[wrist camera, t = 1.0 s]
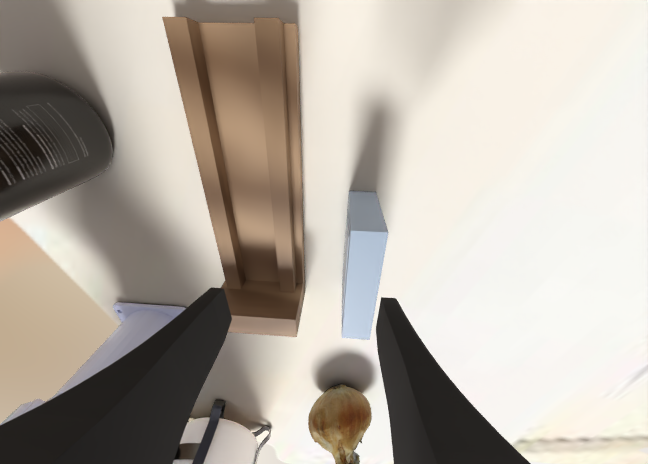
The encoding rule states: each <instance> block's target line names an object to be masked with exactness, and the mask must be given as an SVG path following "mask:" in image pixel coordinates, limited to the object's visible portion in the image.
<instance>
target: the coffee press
mask: <svg viewBox="0 0 648 464" xmlns="http://www.w3.org/2000/svg"><path fill="white" fill-rule="evenodd" d="M225 403H226V402H225V401H220V400H215V402H214V404H213V407H212V411H211V415H210V417H205V418H198V419H195V420H192V421H190V422H189V421H188V423H187V425H186V427H185V430H184V433H183V436H182V438H181V441H180V444H179V447H178V450H177V452H176V455H175V458H174V461H173V464H256V463H257V459H258V455H259V452H260V450H261V448H262V446H263V445H264V444H265V443H266V442H267V441H268V440H269V438H270V436H271V429H270V427H269V426H264V427H262V428H261V429H260V430H258V431H257V432H251V431H250V430H249V429H247V428H246V427H244V426H242V425H240V424H238V423H236V422H233V421H230V420H226V419H224V417H223V416H224V409H225ZM265 430H268V431H269V434H268V436H267V437H266V438H265V439H264V440H263V441H262V443H261V444H260V446H259V448H258V444H257V440H256V436H258V435H260V434H261V433H262V432H263V431H265ZM257 449H258V451H257ZM256 454H257V455H256Z"/></svg>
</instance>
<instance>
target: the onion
mask: <svg viewBox="0 0 648 464" xmlns="http://www.w3.org/2000/svg"><path fill="white" fill-rule="evenodd" d="M370 422H371V408H370V404H369V402H368V400H367V399H366V397H365V396H364V395H363V394H362V393H361V392H359V391H357V390H355V389H353V388H350V387H346V385H342V384H340V385H337V386H334V387H331V388H330V389H328V390H327V391H326V392H325V393H323V394H322V395H321V396H320V397H319V398H318V400H317V401H316V402H315V403H314V405H313V407H312V409H311V411H310V413H309V422H308V425H309V430H310V433H311V436H312V438H313V439H314V441H315V442H318V443H319V444H320V445H321V446H322V447H323V448H324V449H326V450H327V451H329V452H331V453H332V455H333V457H334V459H335V463H336V464H359V462H360V461H359V455H358V454H357V453H355V452H354V450H355V449H356V448H357V445H358V443H359V442H361V443H362V441H361V440H362V437H363V435H364V433H365V432H366V430H367V428H368V427H369V426H370Z"/></svg>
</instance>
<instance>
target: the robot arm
mask: <svg viewBox="0 0 648 464" xmlns="http://www.w3.org/2000/svg"><path fill="white" fill-rule="evenodd" d="M113 308H114V310H115V311H116V313H117V315H118V317H119V318H120V320H121V322H122V324H121V325H120V326H119V327H118V328H117V329H116V330H115V331H114V332H113V333H112V334H111V335H110V337H109V338H108V339H107V340H106V341H105V342H104V343H103V344H102V345H101V346H100V347H99V348H98V349H97V350H96V351H95V353H94V354H93V355H92V356H91V357H90V358H89V359H88V360H87V361H86V362H85V363H84V364H83V365H82V366H81V367H80V369H79V370H78V371H77V372H76V373H75V374H74V375H73V376H72V377H71V378H70V379H69V380H68V381H67V382H66V384H65V385H64V386H63V387H62V388H61V389H60V390H59V391H58V392H57V393H56V394H55V395H54V396H53V397H52V398H50V399H49V400H48V401H46V402H45V401H43V400H41V399H36V400H34V401H33V402H28V403H25V404H22V405H20V406H19V407H18V408H17V409H16V410H15V411H14V412H13V413H12V414H11V415H9V416H8V417H7V418H6V419H5V420H4V421H3V422H2V423H1V424H0V464H173V461H174V458H175V455H176V452H177V450H178V447H179V444H180V441H181V438H182V436H183V433H184V430H185V427H186V425H187V422H188V420H189V417H190V414H191V412H192V409H193V407H194V404H195V401H196V399H197V397H198V395H199V392H200V390H201V388H202V386H203V384H204V382H205V380H206V378H207V376H208V374H209V372H210V370H211V368H212V366H213V364H214V362H215V360H216V358H217V355H218V353H219V351H220V349H221V347H222V345H223V343H224V341H225V338H226V335H227V333H228V330H229V327H230V324H231V321H232V317H231V313H230V309H229V305H228V302H227V298H226V294H225V290H224V288H210V289H209V290H208V291H207V292H205V293H204V294H203V295H202V296H201V297H199V298H198V299H197V300H196V301H195V302H194V303H192V304H191V305H190V306H189V307H188V308H185V307H177V306H163V305H148V304H134V303H120V302H118V303H115V304H114V305H113ZM376 334H377V347H378V355H379V360H380V366H381V372H382V377H383V382H384V388H385V393H386V399H387V404H388V410H389V417H390V426H391V436H392V446H393V457H394V464H530V463H529V462H528V461H527V460H526V459H525V458H524V457H523V456H522V455H521V454H520V453H519V452H518V451H517V450H516V449H515V448H514V447H513V446H512V445H511V444H510V443H508V442H507V441H506V440H505V439H504V438H503V437H502V436H501V435H500V434H499V433H498V432H497V430H496V429H495V428H494V427H493V426H492V425H491V424H490V423H489V422H488V421H487V420H486V419H485V418H484V417H483V416H482V415H481V414H480V413H479V412H478V411H477V410H476V408H475V407H474V406H473V405H472V404H471V403H470V402H469V401H468V400H467V398H466V397H465V396H464V395H463V394H462V393H461V392H460V390H459V389H458V388H457V387H456V386H455V385H454V383H453V382H452V381H451V380H450V378H449V377H448V376H447V375H446V373H445V372H444V371H443V370H442V368H441V367H440V366H439V364H438V363H437V362H436V360H435V359H434V358H433V356H432V355H431V354H430V352H429V351H428V349H427V348H426V347H425V345H424V344H423V342H422V341H421V339H420V338H419V336H418V335H417V333H416V332H415V330H414V328H413V327H412V325H411V324H410V322H409V320H408V319H407V317H406V315H405V314H404V312H403V310H402V308H401V306H400V305H399V303H398V301H397V300H396V299H395V298H382V297H381V302H380V308H379V314H378V320H377V326H376Z"/></svg>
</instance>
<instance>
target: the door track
mask: <svg viewBox="0 0 648 464" xmlns="http://www.w3.org/2000/svg"><path fill="white" fill-rule="evenodd" d="M162 18H163V22H164V26H165V30H166V34H167V38H168V43H169V47H170V51H171V55H172V59H173V63H174V68H175V72H176V76H177V80H178V84H179V88H180V93H181V97H182V101H183V105H184V109H185V113H186V118H187V122H188V126H189V130H190V134H191V138H192V143H193V147H194V151H195V155H196V159H197V163H198V167H199V172H200V176H201V180H202V184H203V188H204V192H205V197H206V201H207V205H208V209H209V213H210V217H211V222H212V226H213V230H214V234H215V238H216V242H217V247H218V251H219V255H220V259H221V263H222V267H223V272H224V276H225V282H224V284H223V285H222V287H221V288H224V290H225V294H226V298H227V302H228V305H229V309H230V313H231V317H232V321H231V324H230V327H229V330H228V332H235V333H248V334H262V335H275V336H289V337H297V332H298V327H299V322H300V316H301V311H302V306H303V300H304V295H305V270H304V232H303V195H302V157H301V120H300V82H299V45H298V27H297V25H296V24H295V23H283V22H282V21H281V20H280V19H279V18H254V23H198V22H196V21H194V20H191V19H189V18H187V17H162Z"/></svg>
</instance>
